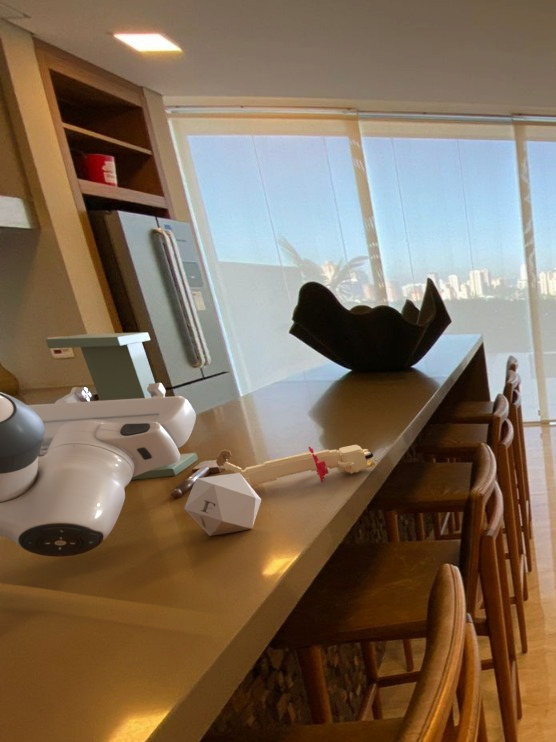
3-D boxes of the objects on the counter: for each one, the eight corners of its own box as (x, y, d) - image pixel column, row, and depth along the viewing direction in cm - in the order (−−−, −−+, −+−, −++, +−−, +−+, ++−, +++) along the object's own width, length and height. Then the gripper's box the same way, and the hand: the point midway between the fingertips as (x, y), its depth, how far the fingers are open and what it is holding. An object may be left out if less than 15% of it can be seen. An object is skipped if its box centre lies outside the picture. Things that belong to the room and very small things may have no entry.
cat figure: (230, 508, 96) (383, 470, 108) (209, 459, 92) (370, 425, 104) (229, 492, 103) (372, 458, 116) (210, 447, 100) (360, 416, 112)
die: (186, 536, 84) (159, 498, 76) (225, 491, 89) (204, 451, 81) (244, 554, 85) (224, 519, 77) (279, 508, 90) (263, 471, 82)
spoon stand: (95, 485, 104) (37, 339, 95) (130, 465, 116) (81, 333, 107) (172, 478, 108) (124, 336, 98) (198, 459, 120) (157, 331, 110)
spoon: (191, 497, 97) (188, 489, 97) (160, 501, 96) (157, 492, 95) (229, 464, 116) (227, 456, 115) (204, 466, 115) (202, 459, 114)
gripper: (16, 476, 77) (49, 409, 85) (191, 460, 83) (207, 399, 91) (-18, 442, 73) (20, 375, 81) (171, 428, 78) (189, 367, 87)
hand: (120, 388), depth 86 cm, fingers open, 8 cm apart
